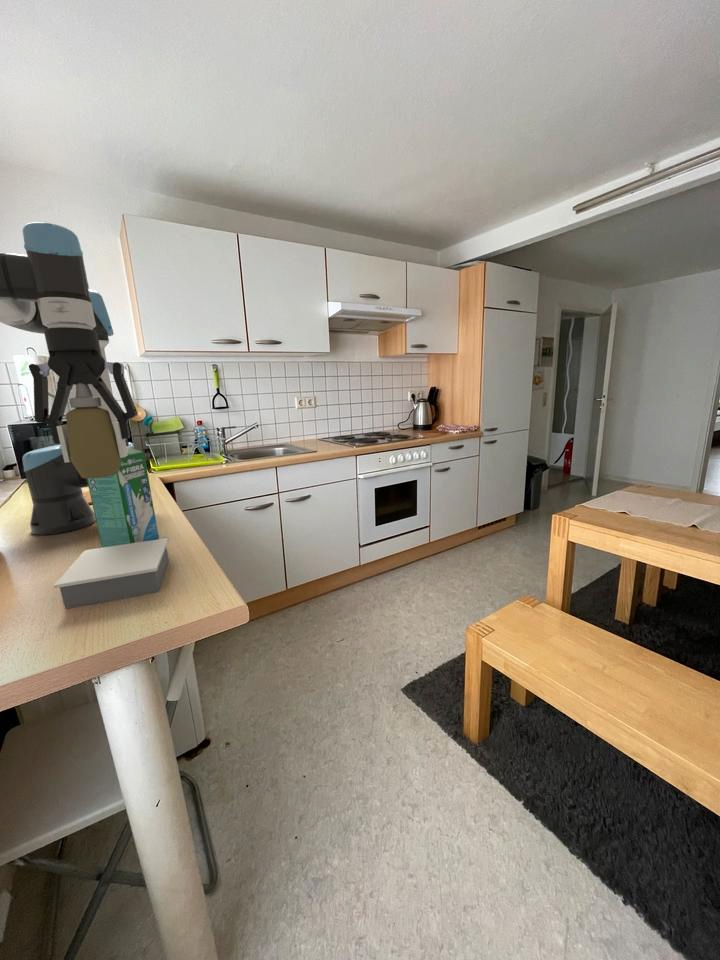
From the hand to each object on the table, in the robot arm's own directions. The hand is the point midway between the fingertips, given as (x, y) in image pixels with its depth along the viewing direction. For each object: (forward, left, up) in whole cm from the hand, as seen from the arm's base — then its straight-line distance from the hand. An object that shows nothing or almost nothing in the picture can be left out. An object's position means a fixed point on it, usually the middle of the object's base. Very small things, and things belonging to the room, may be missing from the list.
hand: (97, 458), depth 72 cm
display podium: (0, 0, -25) cm, 25 cm away
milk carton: (-23, -3, -25) cm, 34 cm away
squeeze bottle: (0, 0, -3) cm, 3 cm away
